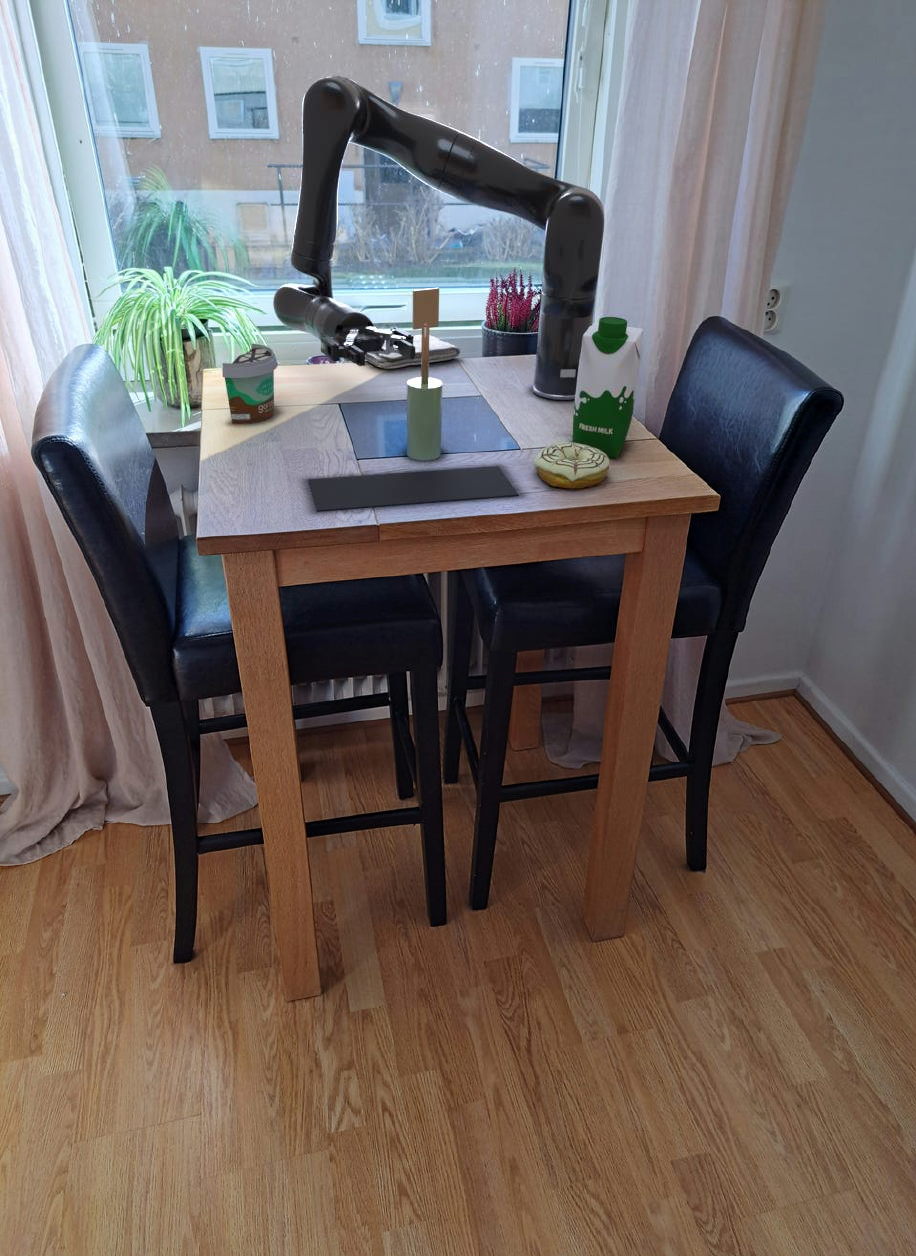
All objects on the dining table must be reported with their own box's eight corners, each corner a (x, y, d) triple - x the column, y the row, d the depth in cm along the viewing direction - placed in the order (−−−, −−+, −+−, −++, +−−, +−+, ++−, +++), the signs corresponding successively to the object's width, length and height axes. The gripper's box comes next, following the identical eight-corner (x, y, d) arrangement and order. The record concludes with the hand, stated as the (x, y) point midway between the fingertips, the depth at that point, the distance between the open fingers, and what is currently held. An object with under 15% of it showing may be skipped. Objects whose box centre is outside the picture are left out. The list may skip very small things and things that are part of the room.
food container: (264, 430, 140) (259, 367, 134) (228, 426, 141) (221, 364, 135) (292, 405, 150) (288, 345, 145) (258, 401, 151) (252, 342, 145)
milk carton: (565, 453, 137) (579, 320, 126) (578, 433, 144) (592, 306, 133) (621, 462, 134) (641, 328, 123) (631, 442, 142) (651, 313, 131)
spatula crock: (430, 445, 137) (433, 283, 124) (447, 457, 134) (452, 291, 120) (400, 451, 135) (400, 286, 122) (417, 463, 131) (418, 295, 118)
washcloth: (352, 355, 175) (351, 339, 173) (430, 344, 183) (430, 328, 181) (380, 372, 166) (380, 356, 165) (461, 359, 175) (461, 344, 173)
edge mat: (498, 467, 131) (498, 466, 131) (518, 495, 123) (518, 494, 123) (308, 480, 125) (308, 479, 125) (316, 511, 117) (316, 510, 117)
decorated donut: (519, 476, 129) (521, 451, 127) (564, 456, 135) (567, 433, 133) (576, 498, 123) (579, 473, 121) (620, 477, 130) (624, 453, 127)
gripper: (301, 310, 142) (345, 336, 130) (381, 302, 148) (429, 326, 137) (304, 357, 146) (346, 386, 135) (381, 347, 152) (428, 374, 141)
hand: (388, 356), depth 136 cm, fingers open, 8 cm apart
